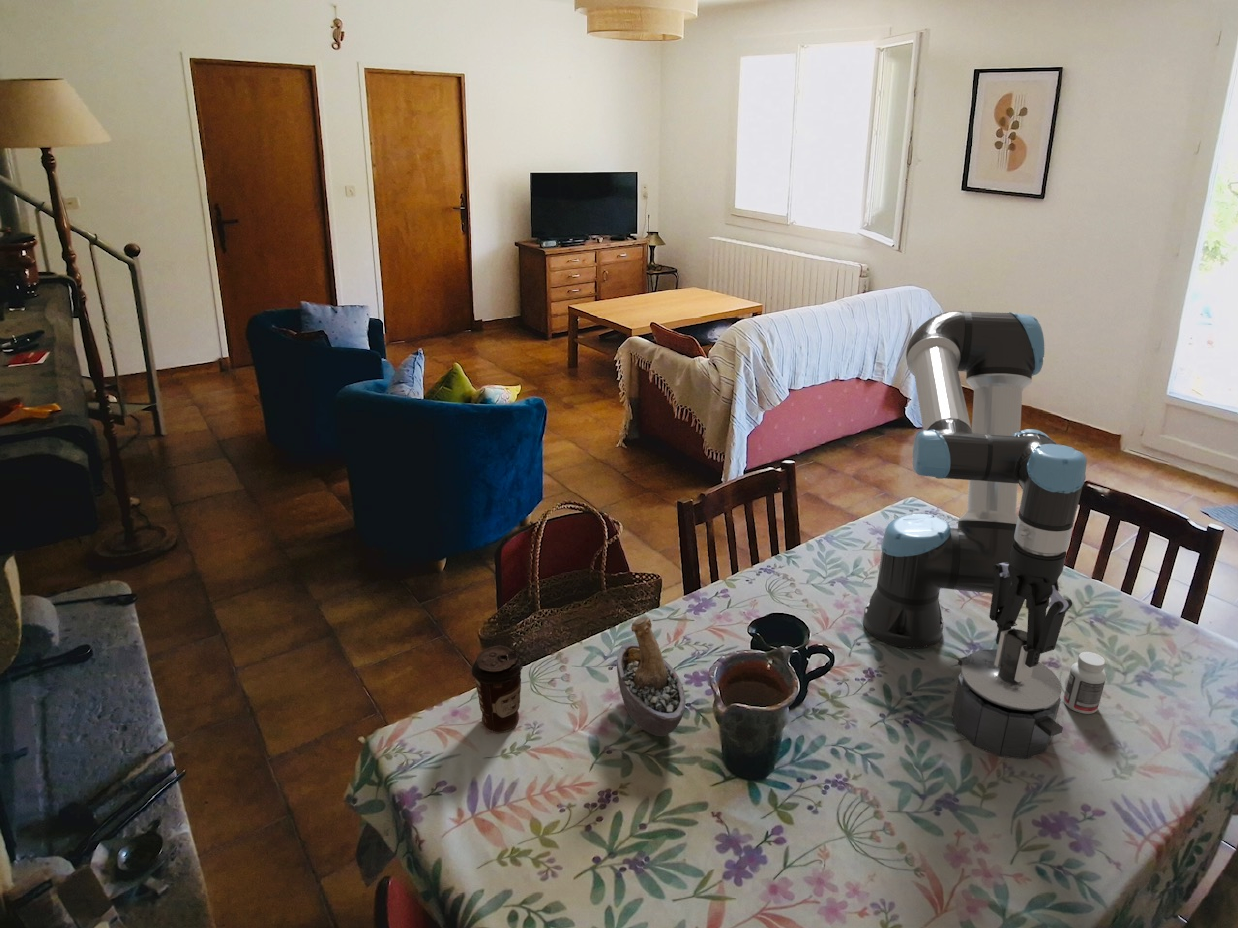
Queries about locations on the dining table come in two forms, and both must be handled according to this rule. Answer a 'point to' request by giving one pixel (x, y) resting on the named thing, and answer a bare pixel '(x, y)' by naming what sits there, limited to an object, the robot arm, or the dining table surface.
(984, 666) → the lid
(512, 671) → the dark brown can
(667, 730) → the planter
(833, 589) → the dining table surface
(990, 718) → the pot
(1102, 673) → the pill bottle
